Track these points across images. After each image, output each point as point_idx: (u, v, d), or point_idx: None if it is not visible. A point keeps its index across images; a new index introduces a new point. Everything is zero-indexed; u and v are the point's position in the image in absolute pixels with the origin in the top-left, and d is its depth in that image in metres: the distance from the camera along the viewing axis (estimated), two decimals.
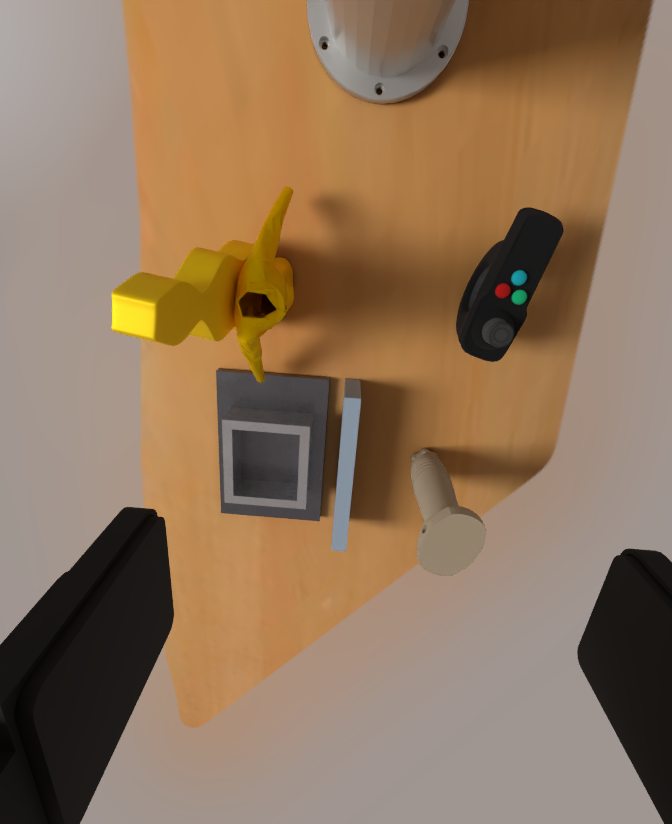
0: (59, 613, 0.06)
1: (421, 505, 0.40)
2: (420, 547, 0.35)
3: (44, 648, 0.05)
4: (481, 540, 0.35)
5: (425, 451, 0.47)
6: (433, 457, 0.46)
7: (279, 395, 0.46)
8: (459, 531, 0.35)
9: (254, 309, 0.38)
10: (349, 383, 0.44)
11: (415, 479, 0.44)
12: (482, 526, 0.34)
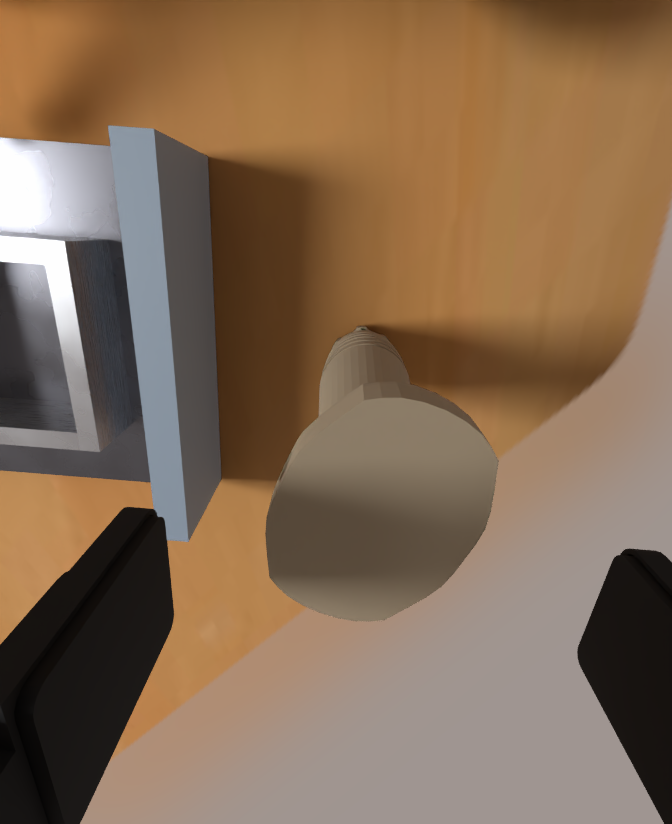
0: (59, 613, 0.06)
1: None
2: (268, 529, 0.10)
3: (44, 648, 0.05)
4: (480, 502, 0.10)
5: (360, 328, 0.22)
6: (373, 333, 0.20)
7: (25, 193, 0.20)
8: (400, 468, 0.09)
9: None
10: None
11: (323, 372, 0.18)
12: (484, 448, 0.09)
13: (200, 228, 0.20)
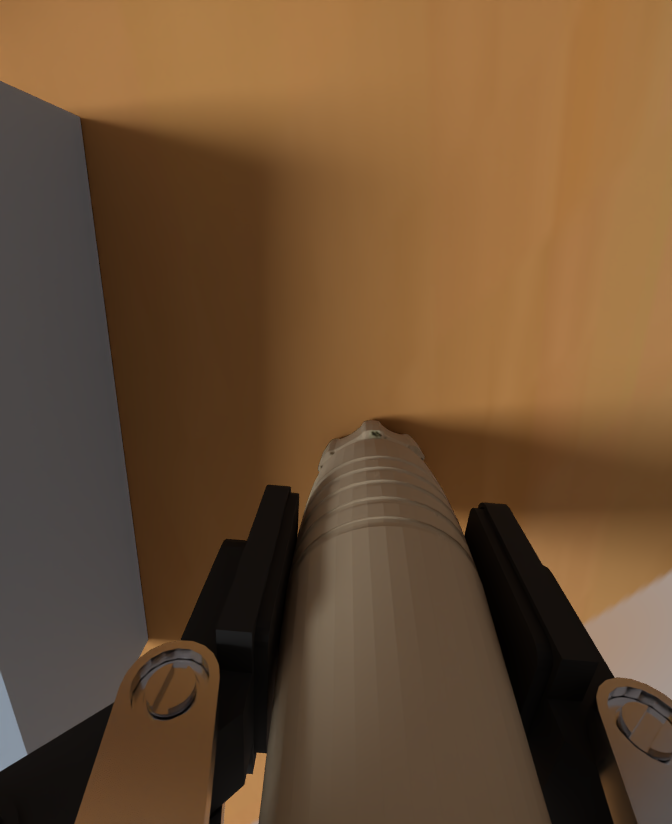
0: (259, 567, 0.07)
1: None
2: None
3: (263, 592, 0.06)
4: None
5: (370, 431, 0.12)
6: (397, 454, 0.11)
7: None
8: None
9: None
10: None
11: (294, 566, 0.08)
12: None
13: (61, 254, 0.10)
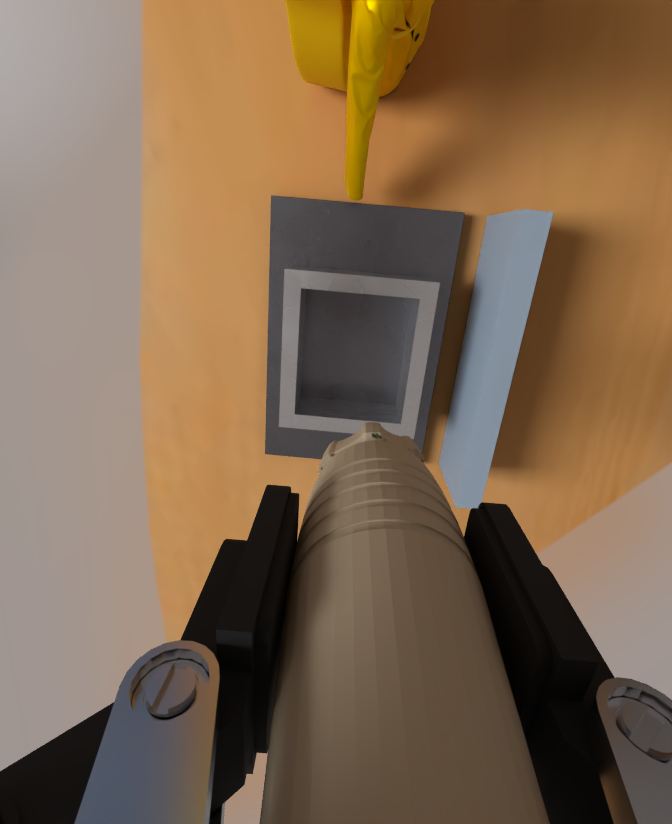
0: (259, 566, 0.07)
1: None
2: None
3: (262, 592, 0.06)
4: None
5: (370, 433, 0.12)
6: (397, 456, 0.11)
7: (376, 243, 0.27)
8: None
9: None
10: None
11: (295, 569, 0.08)
12: None
13: None
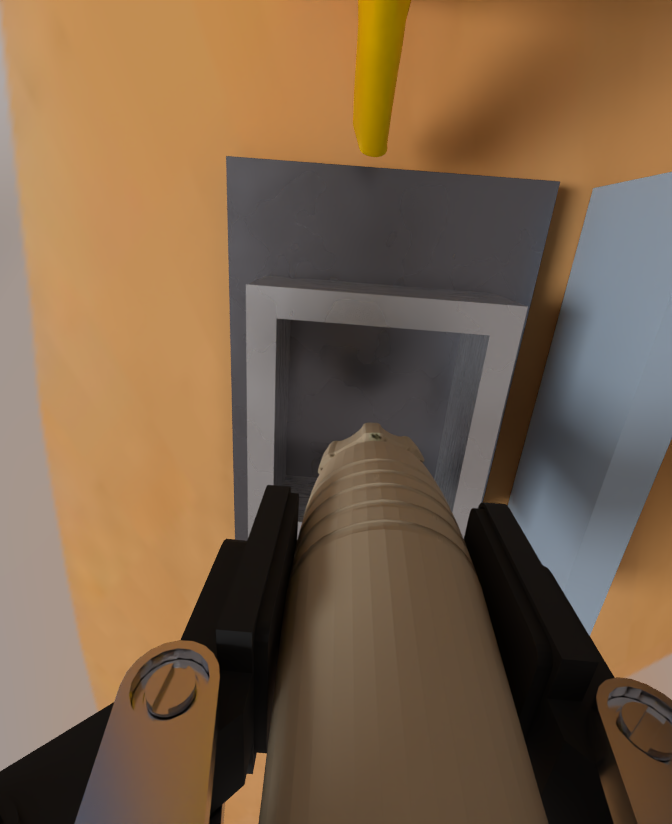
0: (259, 567, 0.07)
1: None
2: None
3: (262, 592, 0.06)
4: None
5: (370, 433, 0.12)
6: (396, 456, 0.11)
7: (406, 237, 0.16)
8: None
9: None
10: None
11: (294, 569, 0.08)
12: None
13: None
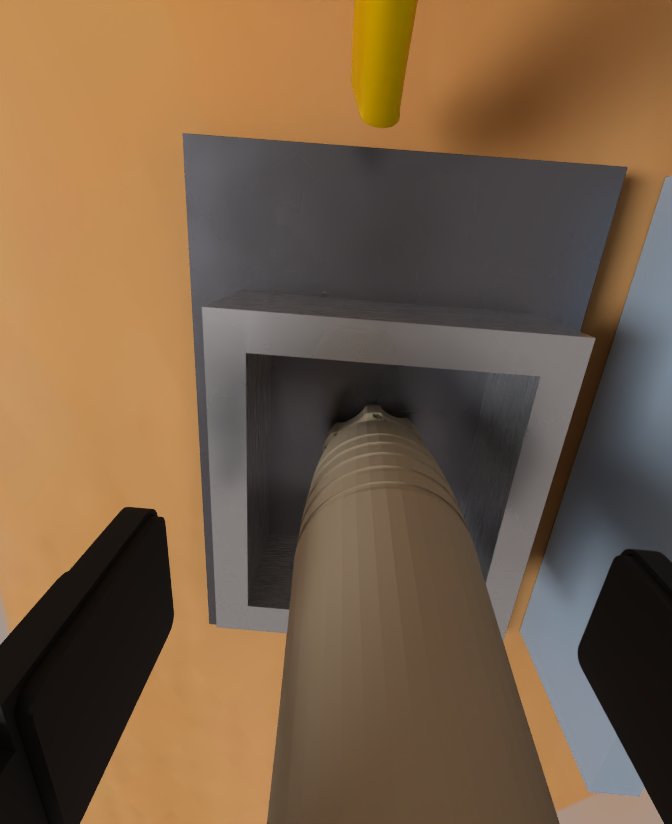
0: (59, 614, 0.06)
1: (276, 740, 0.06)
2: None
3: (44, 648, 0.05)
4: None
5: (371, 413, 0.13)
6: (396, 432, 0.11)
7: (421, 241, 0.12)
8: None
9: None
10: None
11: (303, 529, 0.09)
12: None
13: None
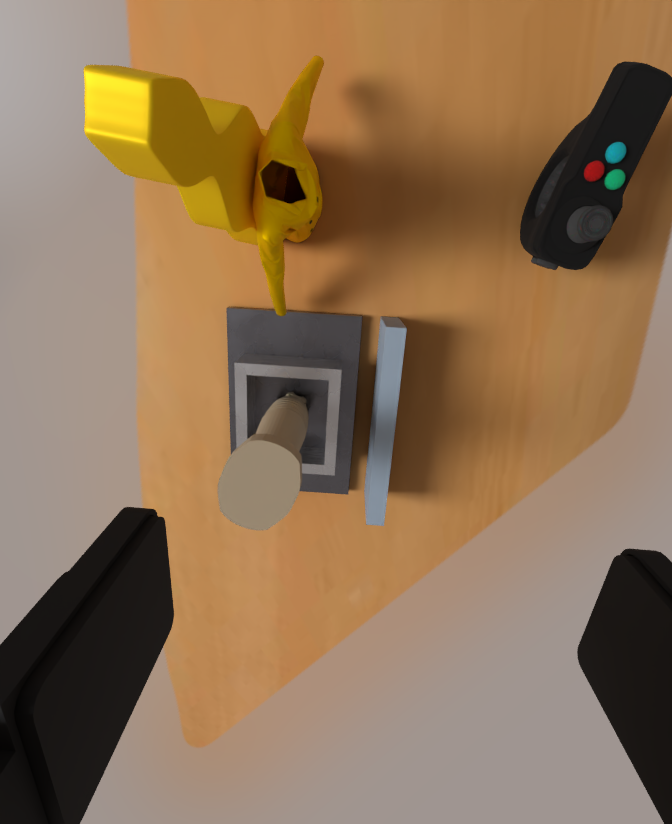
0: (59, 613, 0.06)
1: None
2: (218, 489, 0.27)
3: (44, 648, 0.05)
4: (296, 478, 0.26)
5: (288, 394, 0.39)
6: (292, 398, 0.37)
7: (302, 338, 0.38)
8: (265, 465, 0.26)
9: None
10: (387, 319, 0.37)
11: None
12: (293, 458, 0.26)
13: None
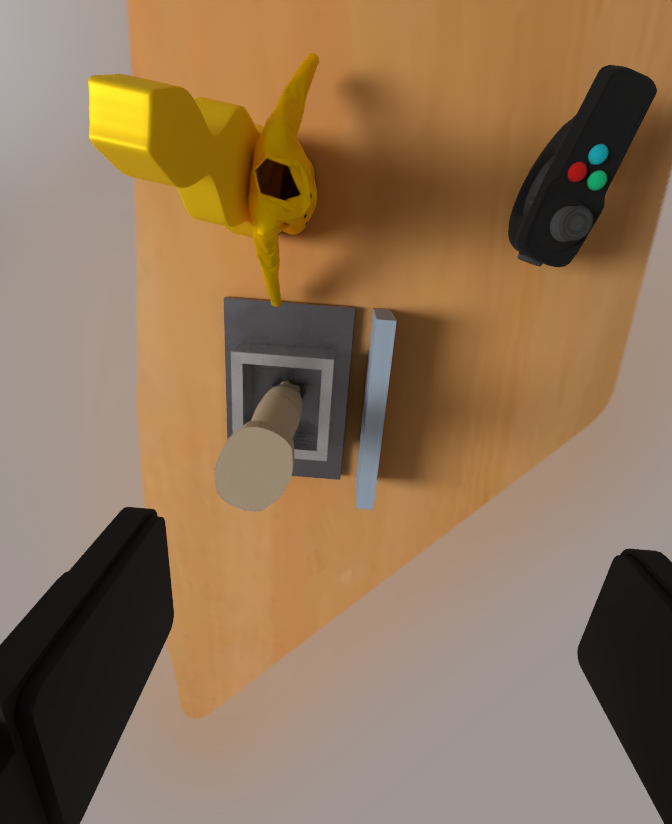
0: (59, 613, 0.06)
1: None
2: (215, 473, 0.28)
3: (44, 648, 0.05)
4: (288, 463, 0.28)
5: (283, 382, 0.40)
6: (287, 386, 0.39)
7: (297, 328, 0.39)
8: (259, 450, 0.27)
9: None
10: (379, 311, 0.38)
11: None
12: (286, 444, 0.27)
13: None
